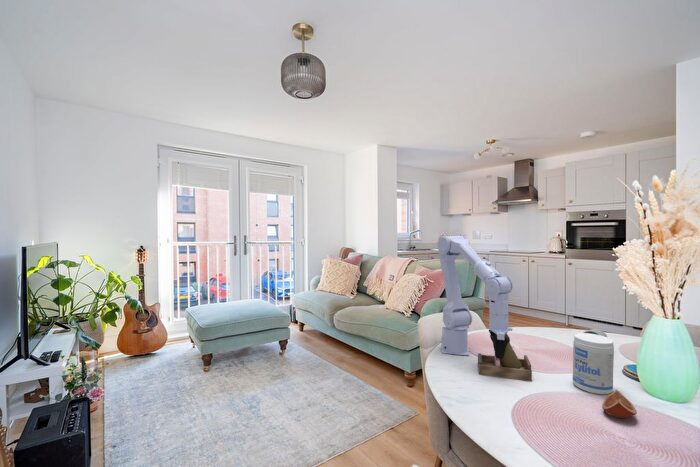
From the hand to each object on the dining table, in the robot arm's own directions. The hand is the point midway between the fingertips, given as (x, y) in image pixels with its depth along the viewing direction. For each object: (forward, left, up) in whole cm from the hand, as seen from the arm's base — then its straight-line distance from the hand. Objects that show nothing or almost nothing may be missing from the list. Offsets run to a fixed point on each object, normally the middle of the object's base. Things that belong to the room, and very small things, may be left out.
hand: (498, 355), depth 109 cm
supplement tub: (+25, -4, -5) cm, 26 cm away
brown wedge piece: (+26, -19, -6) cm, 33 cm away
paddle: (-1, 0, -4) cm, 4 cm away
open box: (+1, 0, -5) cm, 5 cm away
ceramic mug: (+35, +34, -6) cm, 49 cm away
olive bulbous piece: (+4, 0, -4) cm, 6 cm away
